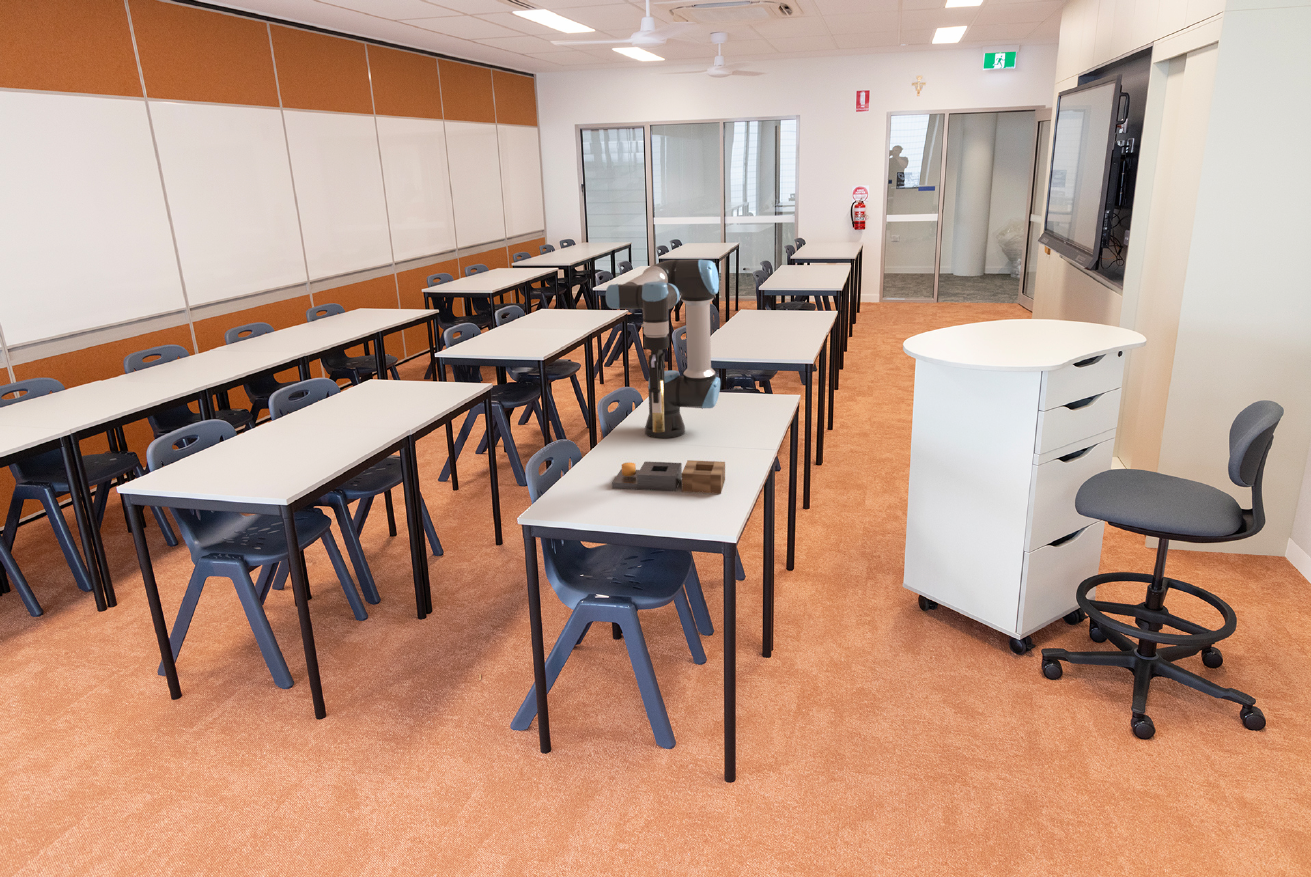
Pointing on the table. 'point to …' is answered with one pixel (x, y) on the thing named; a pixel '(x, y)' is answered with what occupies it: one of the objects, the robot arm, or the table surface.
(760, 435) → the table surface
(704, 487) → the wooden peg hole block
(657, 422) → the gold metal bar
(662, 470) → the socket
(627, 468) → the release button
